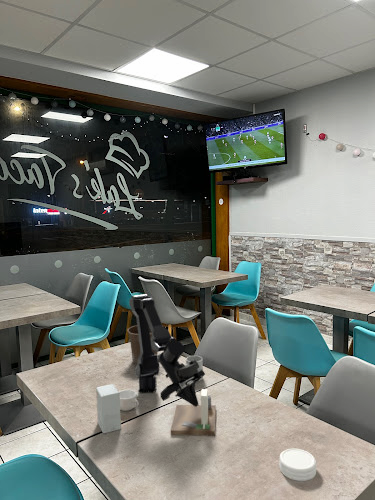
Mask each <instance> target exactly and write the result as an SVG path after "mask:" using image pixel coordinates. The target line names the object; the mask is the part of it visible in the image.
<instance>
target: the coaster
mask: <svg viewBox="0 0 375 500" xmlns="http://www.w3.org/2000/svg"><path fill="white" fill-rule="evenodd" d="M278 467H279V470H280V472H281V473H282V474H283V475H284V476H285V477H286V478H287V479H291V480H293V481H297V482H304V481H305V482H307V481H311V480H312V479H314V478H315V476H316V474H317V461H316V458H315V457H314V456H313V454H311V453H310V452H309V451H306V450H303V449H301V448H287V449H285V450H283V451H282V452H281V453H280V454H279V466H278Z"/></svg>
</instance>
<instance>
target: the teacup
mask: <svg viewBox="0 0 375 500" xmlns="http://www.w3.org/2000/svg"><path fill="white" fill-rule="evenodd" d="M118 391H119V395H120V411H124V412H127V411H131V410H132V409H134V408H137V407H138V406H139V405H140V404H139V401H138V400H137V394H138V393H137V392H136V391H135V390H133V389H123V390H118Z"/></svg>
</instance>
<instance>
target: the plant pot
mask: <svg viewBox="0 0 375 500" xmlns="http://www.w3.org/2000/svg"><path fill="white" fill-rule="evenodd" d="M126 330H127V334H128V339H129V341H130V342H129V343H130V351H131V358H132V363H133V364H135V365H137V364H138V357H139V355H140V353H141V351H140V343H139V335H138V327H137V325H133V326H131V327H128V328H127V329H126ZM149 331H150V339H151V337H152V333H151V330H150V327H149ZM152 351H153V353H154V354H155V355H159V354H158V353H159V352H156V351H154V350H153V349H152Z"/></svg>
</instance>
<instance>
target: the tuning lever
mask: <svg viewBox="0 0 375 500" xmlns="http://www.w3.org/2000/svg"><path fill="white" fill-rule="evenodd" d="M200 405H201V424H203V429H205V425H207V424H208V410H209V409H211V405H212V397H211V395H208V388H202V389H201V392H200Z"/></svg>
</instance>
